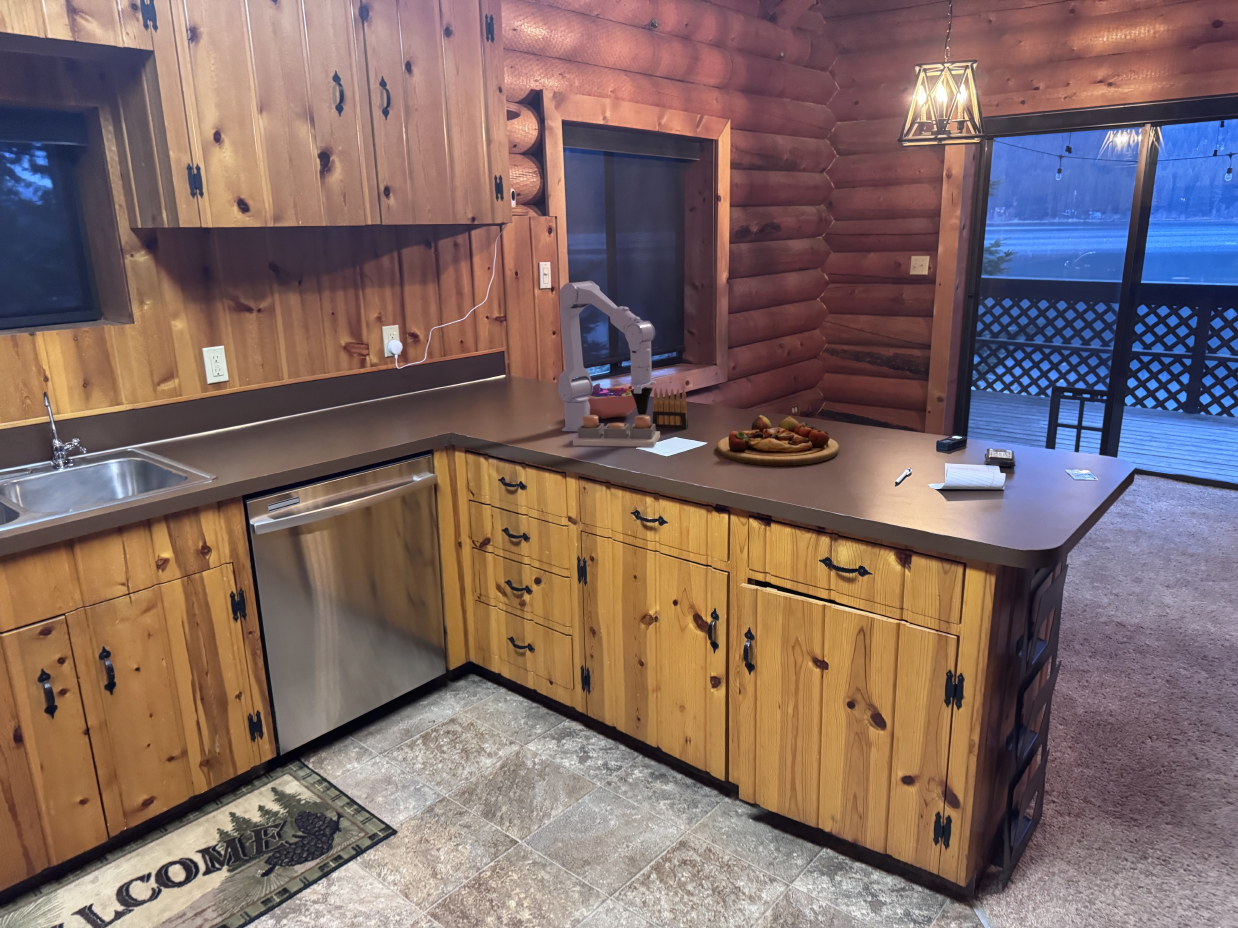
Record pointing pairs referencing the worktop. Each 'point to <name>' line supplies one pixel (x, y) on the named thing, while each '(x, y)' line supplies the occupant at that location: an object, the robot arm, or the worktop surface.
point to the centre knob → (616, 425)
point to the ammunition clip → (670, 410)
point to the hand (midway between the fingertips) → (642, 414)
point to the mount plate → (616, 436)
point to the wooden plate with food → (778, 444)
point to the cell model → (611, 402)
